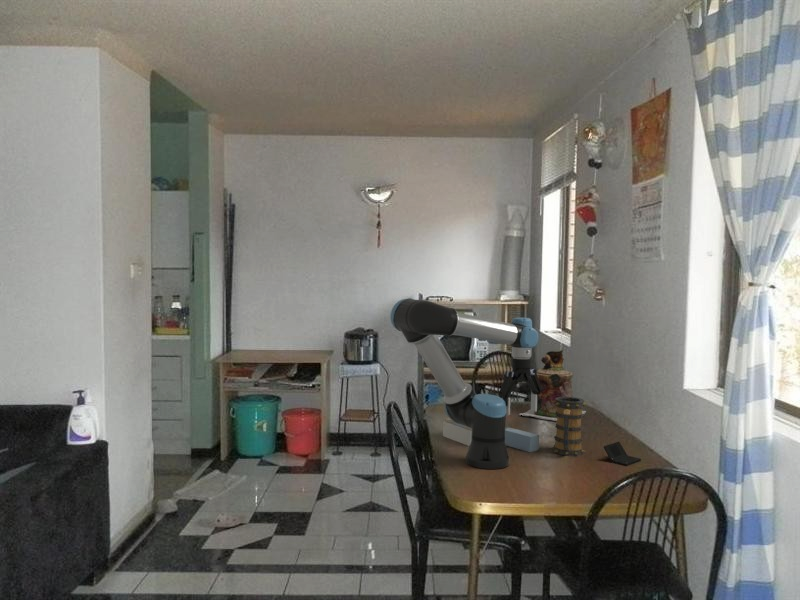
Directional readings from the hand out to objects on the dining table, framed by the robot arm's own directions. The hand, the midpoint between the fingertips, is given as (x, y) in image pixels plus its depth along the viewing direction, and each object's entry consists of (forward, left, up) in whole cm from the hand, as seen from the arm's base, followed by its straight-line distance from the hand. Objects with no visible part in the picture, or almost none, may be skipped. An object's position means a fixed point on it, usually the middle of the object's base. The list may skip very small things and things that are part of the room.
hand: (520, 412), depth 255 cm
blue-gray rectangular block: (0, 0, -14) cm, 14 cm away
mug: (+10, -16, -14) cm, 23 cm away
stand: (-10, +18, -13) cm, 25 cm away
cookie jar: (+52, +36, -14) cm, 65 cm away
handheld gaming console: (+21, -32, -14) cm, 40 cm away
